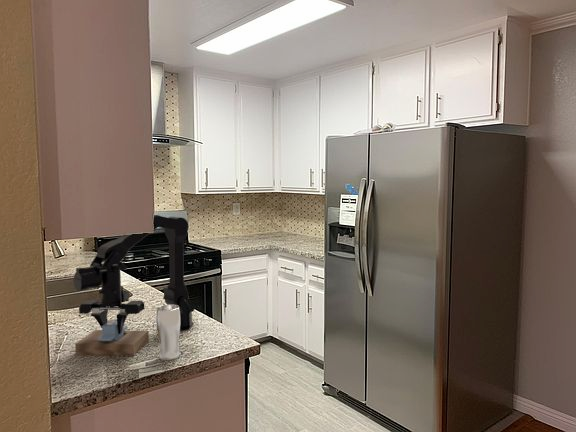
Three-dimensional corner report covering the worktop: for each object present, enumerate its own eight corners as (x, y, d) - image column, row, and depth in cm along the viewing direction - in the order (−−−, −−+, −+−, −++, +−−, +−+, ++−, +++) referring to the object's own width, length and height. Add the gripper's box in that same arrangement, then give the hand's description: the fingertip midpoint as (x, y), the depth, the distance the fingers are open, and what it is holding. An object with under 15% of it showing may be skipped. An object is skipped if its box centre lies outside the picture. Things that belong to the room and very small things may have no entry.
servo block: (127, 337, 143) (127, 314, 143) (111, 352, 131) (110, 326, 131) (116, 337, 144) (115, 314, 143) (98, 351, 132) (97, 326, 131)
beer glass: (157, 362, 126) (155, 311, 125) (157, 353, 133) (156, 305, 132) (181, 359, 128) (180, 309, 127) (181, 350, 135) (179, 303, 133)
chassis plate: (148, 341, 143) (148, 330, 143) (133, 355, 131) (133, 344, 131) (95, 340, 144) (95, 330, 144) (75, 354, 132) (75, 343, 132)
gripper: (150, 279, 143) (151, 325, 145) (94, 278, 144) (97, 324, 146) (136, 287, 132) (138, 337, 134) (76, 287, 133) (79, 336, 135)
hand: (113, 333), depth 137 cm, fingers closed on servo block, 4 cm apart
